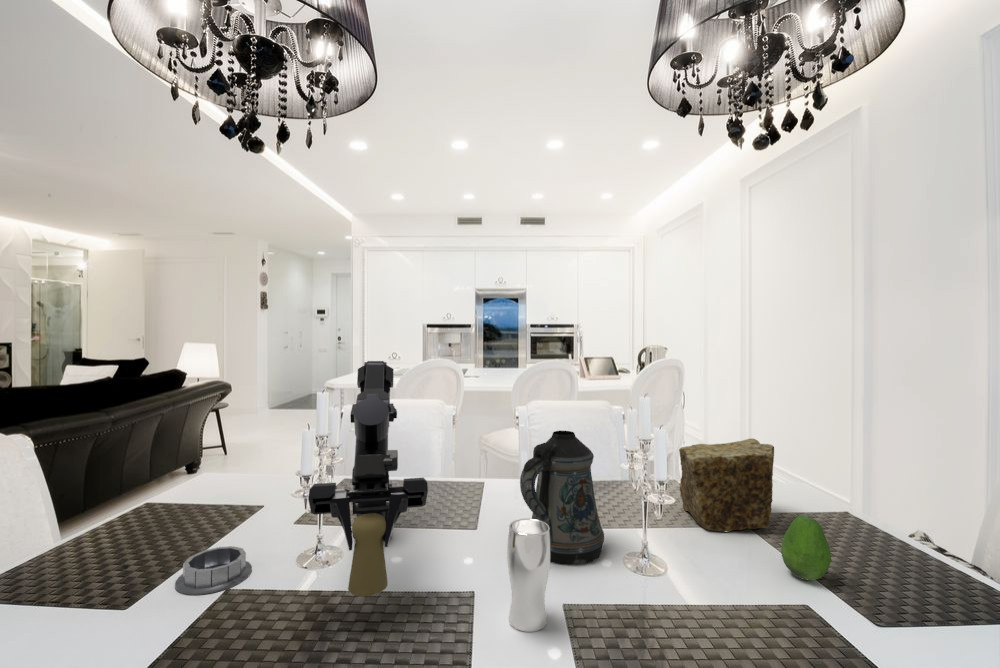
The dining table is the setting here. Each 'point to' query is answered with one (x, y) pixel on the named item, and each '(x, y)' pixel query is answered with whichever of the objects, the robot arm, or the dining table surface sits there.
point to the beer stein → (564, 498)
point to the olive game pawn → (368, 556)
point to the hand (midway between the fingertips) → (368, 547)
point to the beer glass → (528, 572)
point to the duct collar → (213, 571)
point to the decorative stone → (728, 484)
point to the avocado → (806, 549)
